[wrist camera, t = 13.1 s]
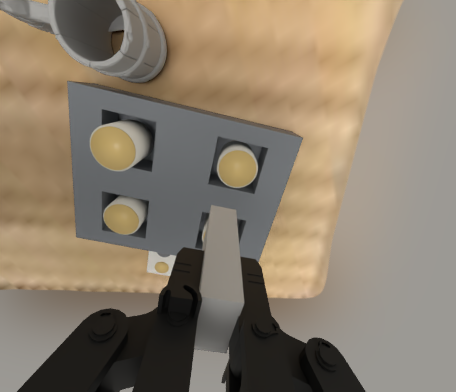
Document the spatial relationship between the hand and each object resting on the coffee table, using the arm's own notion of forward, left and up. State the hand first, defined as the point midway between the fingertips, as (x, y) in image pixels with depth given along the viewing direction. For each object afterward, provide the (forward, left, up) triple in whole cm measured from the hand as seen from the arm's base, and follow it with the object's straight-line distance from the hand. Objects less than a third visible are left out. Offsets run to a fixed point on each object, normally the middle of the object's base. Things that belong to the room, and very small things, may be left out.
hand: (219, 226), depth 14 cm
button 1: (-11, -10, -19) cm, 24 cm away
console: (-5, -5, -19) cm, 21 cm away
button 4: (+2, 0, -19) cm, 19 cm away
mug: (-15, +10, -20) cm, 27 cm away
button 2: (-11, 0, -16) cm, 20 cm away
